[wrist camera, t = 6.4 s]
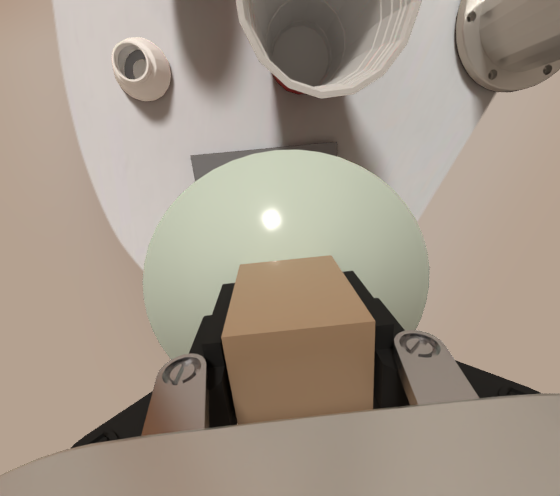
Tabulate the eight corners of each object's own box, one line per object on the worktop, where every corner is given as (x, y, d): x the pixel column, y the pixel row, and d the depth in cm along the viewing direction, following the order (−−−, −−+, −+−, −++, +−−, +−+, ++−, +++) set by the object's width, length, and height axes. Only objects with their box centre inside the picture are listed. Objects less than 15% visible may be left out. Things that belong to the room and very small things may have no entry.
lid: (428, 136, 11) (594, 113, 6) (409, 379, 15) (492, 508, 10) (118, 165, 11) (-39, 173, 5) (182, 404, 15) (133, 550, 10)
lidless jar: (151, 30, 24) (105, 58, 25) (136, 13, 22) (85, 45, 22) (182, 86, 26) (138, 111, 26) (172, 76, 23) (124, 105, 24)
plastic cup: (324, 142, 28) (366, 130, 17) (227, 90, 26) (200, 35, 15) (378, 32, 25) (473, -74, 14) (275, -36, 23) (287, -224, 12)
